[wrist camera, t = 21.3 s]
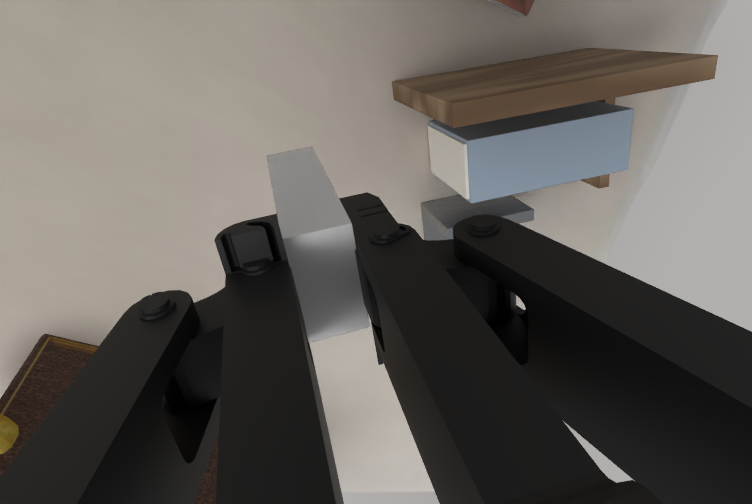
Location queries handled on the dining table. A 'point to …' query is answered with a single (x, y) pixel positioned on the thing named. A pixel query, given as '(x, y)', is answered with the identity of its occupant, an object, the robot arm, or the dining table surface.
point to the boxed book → (531, 150)
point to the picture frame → (514, 6)
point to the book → (43, 390)
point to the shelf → (549, 85)
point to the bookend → (468, 213)
